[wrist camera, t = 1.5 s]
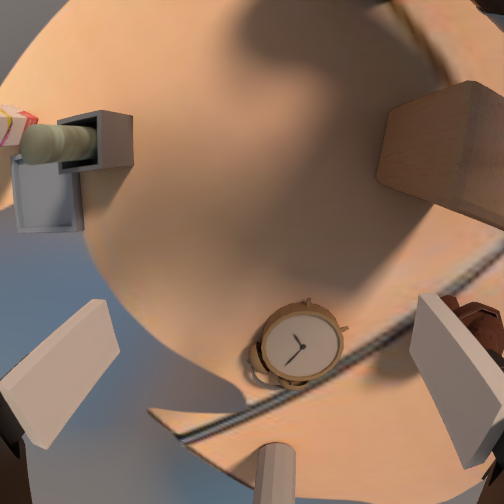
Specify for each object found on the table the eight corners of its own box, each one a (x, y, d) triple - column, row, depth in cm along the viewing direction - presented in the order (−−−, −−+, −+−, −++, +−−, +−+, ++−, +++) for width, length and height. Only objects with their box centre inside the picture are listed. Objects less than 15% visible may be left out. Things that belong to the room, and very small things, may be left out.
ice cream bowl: (407, 345, 43) (441, 410, 29) (420, 278, 40) (470, 331, 25) (462, 339, 42) (504, 395, 28) (478, 276, 39) (534, 321, 24)
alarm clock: (361, 338, 40) (291, 412, 42) (351, 325, 45) (288, 394, 47) (299, 292, 39) (228, 375, 41) (294, 282, 44) (230, 359, 46)
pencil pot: (91, 123, 38) (57, 120, 30) (132, 115, 37) (101, 109, 29) (93, 169, 40) (58, 174, 32) (133, 165, 39) (102, 169, 31)
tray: (18, 155, 40) (10, 156, 38) (78, 141, 39) (70, 142, 37) (25, 230, 44) (18, 233, 42) (84, 228, 43) (77, 232, 41)
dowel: (95, 130, 37) (19, 128, 23) (120, 126, 37) (46, 120, 22) (96, 159, 38) (20, 167, 24) (120, 156, 38) (46, 162, 24)
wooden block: (437, 203, 36) (534, 244, 17) (371, 181, 37) (447, 209, 18) (453, 132, 33) (555, 129, 14) (387, 106, 34) (471, 72, 15)
